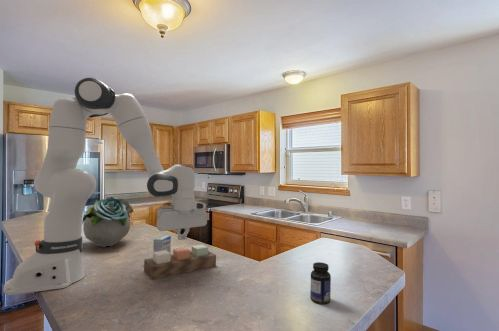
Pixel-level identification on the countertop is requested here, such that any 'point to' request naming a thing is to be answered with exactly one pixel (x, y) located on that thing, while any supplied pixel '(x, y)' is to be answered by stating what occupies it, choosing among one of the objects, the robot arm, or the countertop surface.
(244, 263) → the countertop surface
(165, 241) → the medicine box
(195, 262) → the key panel
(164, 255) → the cream key
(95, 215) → the flower arrangement
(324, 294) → the pill bottle
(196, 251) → the sage key
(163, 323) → the countertop surface
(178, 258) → the terracotta key
